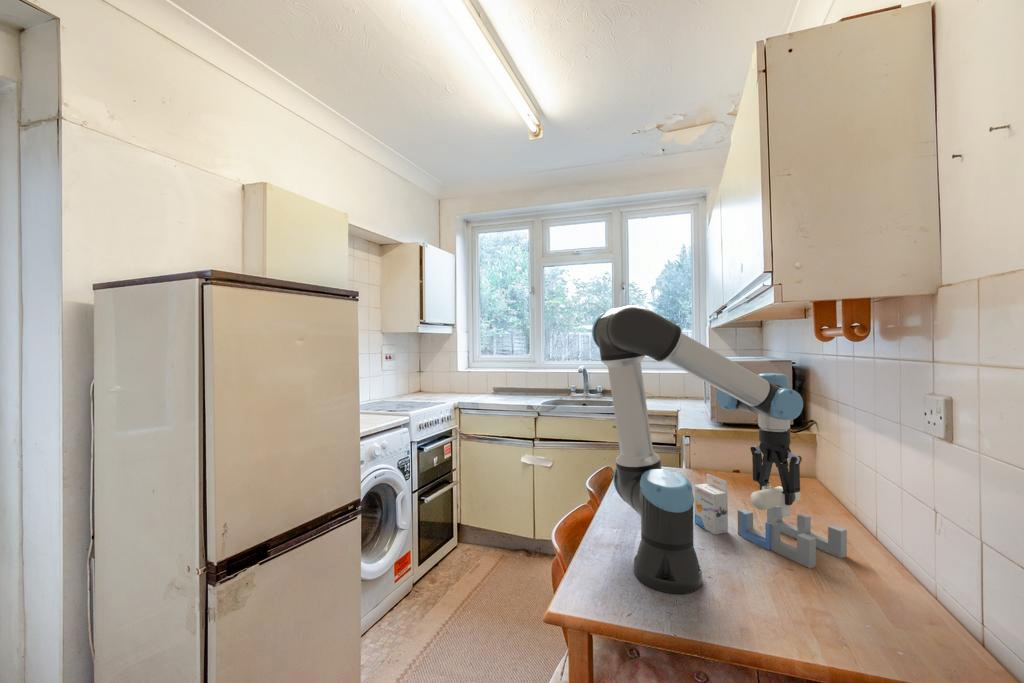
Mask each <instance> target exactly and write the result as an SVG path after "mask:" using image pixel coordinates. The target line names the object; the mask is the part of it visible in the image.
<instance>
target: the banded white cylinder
mask: <svg viewBox="0 0 1024 683" xmlns="http://www.w3.org/2000/svg"><path fill="white" fill-rule="evenodd" d="M782 491H783V488H782V484H781V485H778V486H774V487H771V488H769V489H764V490H760V489H759V490H755V491H753V492H752V493H751V494H750V501H751V504H752V505H753V506H754V507H755V508H756V509H757V510H761V511H763V510H764V509H768V508H772V507H776V506H780V505H781V498H780V492H782ZM792 498H793V499H792V500H793V503H796V502H799V501H800V499H801V498H802V493H801V491H800V492H797V493H793V494H792ZM764 511H765V510H764Z"/></svg>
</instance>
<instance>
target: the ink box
mask: <svg viewBox="0 0 1024 683" xmlns="http://www.w3.org/2000/svg"><path fill="white" fill-rule="evenodd" d="M715 481H716V482H718V483H716V482H715ZM693 486H694V523H695V524H696V525H698V526H699V527H701V528H703V529H705V530H706V531H708V532H709V533H711V534H713V535H714V536H715V535H719V534H726V533H728V532H729V530H728V529H729V526H728V524H729V522H728V520H729V519H728V518H729V516H728V514H729V513H728V510H729V509H728V498H729V497H728V496H729V495H728V482H727V481H726V480H724V479H722V478H719V477H717V476H714V475H712V474H709V473H706V483H699V484H694V485H693Z"/></svg>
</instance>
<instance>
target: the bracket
mask: <svg viewBox="0 0 1024 683" xmlns="http://www.w3.org/2000/svg"><path fill="white" fill-rule="evenodd" d="M796 516H797V517H796V518H797V520H796V523H797V524H796V525H797V526H796V525H793V524H790V523H788V522H787V521H783V517H782V516H781V505H780V506H776V507H772V508H771V509H767V510H766V522H765V528H764V529H765V532H763V531H761V530H758V529H757V528H756V529H755V528H754V512H752V511H750V510H747V509H745V508H742V509H738V510H737V534H738V535H740V536H742V538H743V539H745V540H748V541H750V542H752V543H753V544H756V545H758V546H760V547H762V548H763V549H766V550H769V551H773V552H775V553H777V554H779V555H781V556H784V557H785V558H788V559H790V560H791V561H793V562H796V563H798V564H800V565H802V566H804V567H805V568H806V567H807V568H809V569H811V568H815V567H817V549H819V550H820V551H823V552H826V553H827V554H829V555H830V554H831V555H833V556H835V557H837V558H840V559H843V558H847V557H848V542H847V541H848V537H847V535H848V534H847V533H848V531H847V529H846V528H844V527H840V526H837V525H835V524H832V525H830V526H827V533H828V534H827V536H828V537H827V538H826V537H823V536H821V535H818V534H815V533H813V532H812V531H811V526H812V525H811V515H807V514H805V513H800V514H797V515H796ZM781 534H783V535H786V536H788V537H790V538H793V539H796V546H795V545H794V546H793V545H791V544H790V543H787V542H785V541H782V540H781V539H782V538H781V536H782V535H781Z"/></svg>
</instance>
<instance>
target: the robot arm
mask: <svg viewBox="0 0 1024 683" xmlns="http://www.w3.org/2000/svg"><path fill="white" fill-rule="evenodd" d="M591 335H592V340H593V342H594V343H595V346H597V347H598V349H599V354H600V361H601V362H602V363H603V364H604V365H606V367H607V370H608V377H609V378H608V379H609V384H610V385H609V386H610V391H611V398H612V405H613V406H612V407H613V412H614V419H615V425H616V432H617V439H618V440H617V441H618V447H619V454H618V455H617V457H616V458H615V466H616V468H615V469H614V471H613V475H612V476H613V477H612V478H613V479H612V480H613V486H614V490H616V492H617V494H618V496H619V497H620V498H621V500H623V501H624V502H625V503H626V504H627V505H628V506H630V508H632V509H633V510H634V511H635V512H636V513H637V514H638V515H639V516H640V533H641V534H640V536H641V537H640V542H639V545H638V548H637V553H636V555H635V557H634V559H633V572H634V575H635V577H636V578H637V580H638V581H640V582H641V583H642V584H643V585H645V586H647V587H649V588H651V589H653V590H656V591H659V592H663V593H668V594H678V595H679V594H680V595H681V594H689V593H693V592H695V591H697V590H699V589H700V588H701V586H702V583H703V572H702V568H701V565H700V563H699V562H700V561H699V559H698V556H697V553H696V550H695V546H694V504H695V496H694V491H693V485H692V483H691V482H690V480H689V479H688V478H687V477H685V476H684V475H682V474H680V473H679V472H676V471H672V470H670V469H663V468H662V462H661V461H662V460H661V456H660V455H659V454H658V453H656V452H655V451H654V449H653V442H652V434H651V427H650V419H649V413H648V407H647V397H646V393H645V392H646V391H645V384H644V377H643V370H642V364H641V363H642V361H643V360H644V358H645V357H649V358H651V359H653V360H655V361H657V362H660V363H661V362H664V361H665V362H668V363H669V364H671V365H673V366H675V367H677V368H678V369H681V370H683V371H684V372H686V373H688V374H690V375H692V376H693V377H695V378H697V379H699V380H701V381H703V382H704V383H706V384H708V385H710V386H712V387H714V388H716V392H715V400H716V402H717V405H718V406H719V407H720V408H721V409H723V410H725V411H737V410H739V411H743V412H749V413H753V414H757V415H758V419H757V421H758V427H759V429H758V441H759V445H754V446H750V447H749V448H750V452H751V455H752V456H751V457H752V458H751V459H752V480H753V482H757V483H758V485H759V491H760V490H764V489H769V488H772V485H771V482H769V481H770V477H771V473H772V468H773V464H775V467H776V468H777V471H778V475H779V479H780V483H781V485H782V488H783V491H782V492H780V498H781V516H782V518H786V517H790V516H791V506H792V505H793V503H794V502H793V500H792V499H793V498H792V494H793V493H797V492H800V493H801V472H800V471H801V470H800V468H801V467H800V466H801V462H802V456H800V455H795V454H794V453H792V451H791V448H790V444H791V431H790V429H791V421H792V420H796V419H797V418H798V417H799V416H800V415H801V414H802V412H803V408H804V400H803V397H802V396H801V394H800V393H799V392H798V391H796V390H794V389H790V381H789V376H788V375H786V374H784V373H775V372H769V373H768V372H767V373H766V372H764V373H763V372H762V373H758V374H756V373H754V372H752V371H750V370H749V369H747V368H746V367H743V366H742V365H740V364H738V363H737V362H735V361H733V360H732V359H729V358H728V357H726V356H725V355H722V354H720V353H719V352H717V351H715V350H713V349H711V348H710V347H708V346H706V345H705V344H704V343H703V344H702V343H701V342H698V341H697V340H695V339H694V338H692V337H690V336H688V335H686V334H685V333H683V330H682V327H681V326H679V325H678V324H675V323H674V322H672V321H670V320H669V319H667V318H665V317H664V316H661V315H660V314H658V313H656V312H655V311H653V310H650V309H648V308H646V307H644V306H641V305H640V306H639V305H634V304H633V305H632V304H631V305H625V306H621V307H614V308H609V309H607V310H605V311H604V312H602V313H601V314H599V315H598V316H597V317H596V319H595V320H594V322H593V324H592V329H591ZM768 509H771V508H768ZM764 511H767V509H764Z"/></svg>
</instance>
